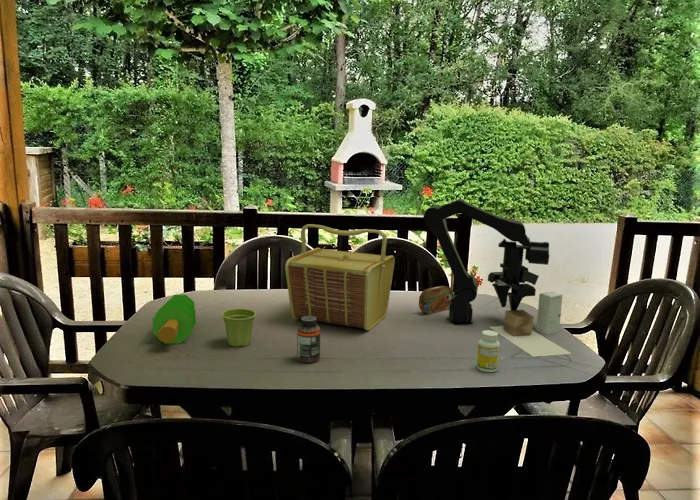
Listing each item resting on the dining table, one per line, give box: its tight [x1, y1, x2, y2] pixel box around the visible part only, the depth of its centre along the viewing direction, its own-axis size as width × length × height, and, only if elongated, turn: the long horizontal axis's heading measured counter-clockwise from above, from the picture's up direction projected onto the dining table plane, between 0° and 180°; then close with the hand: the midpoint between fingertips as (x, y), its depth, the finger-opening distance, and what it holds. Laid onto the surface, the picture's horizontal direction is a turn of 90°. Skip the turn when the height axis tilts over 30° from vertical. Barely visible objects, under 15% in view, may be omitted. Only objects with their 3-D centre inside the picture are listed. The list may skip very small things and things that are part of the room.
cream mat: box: [489, 325, 572, 358], centre depth 164 cm, size 12×25×1 cm, turn 14°
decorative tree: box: [152, 294, 197, 345], centre depth 161 cm, size 11×12×30 cm
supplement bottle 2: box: [476, 329, 501, 373], centre depth 142 cm, size 5×5×10 cm
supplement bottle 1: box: [296, 316, 321, 364], centre depth 144 cm, size 6×6×11 cm
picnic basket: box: [284, 223, 396, 331], centre depth 177 cm, size 29×26×30 cm
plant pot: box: [221, 308, 257, 348], centre depth 154 cm, size 9×9×9 cm
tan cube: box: [503, 309, 534, 337], centre depth 169 cm, size 6×6×6 cm
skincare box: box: [535, 291, 563, 335], centre depth 171 cm, size 6×4×12 cm
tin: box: [418, 285, 454, 315], centre depth 190 cm, size 15×3×8 cm, turn 129°
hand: (508, 310), depth 174 cm, fingers open, 5 cm apart
